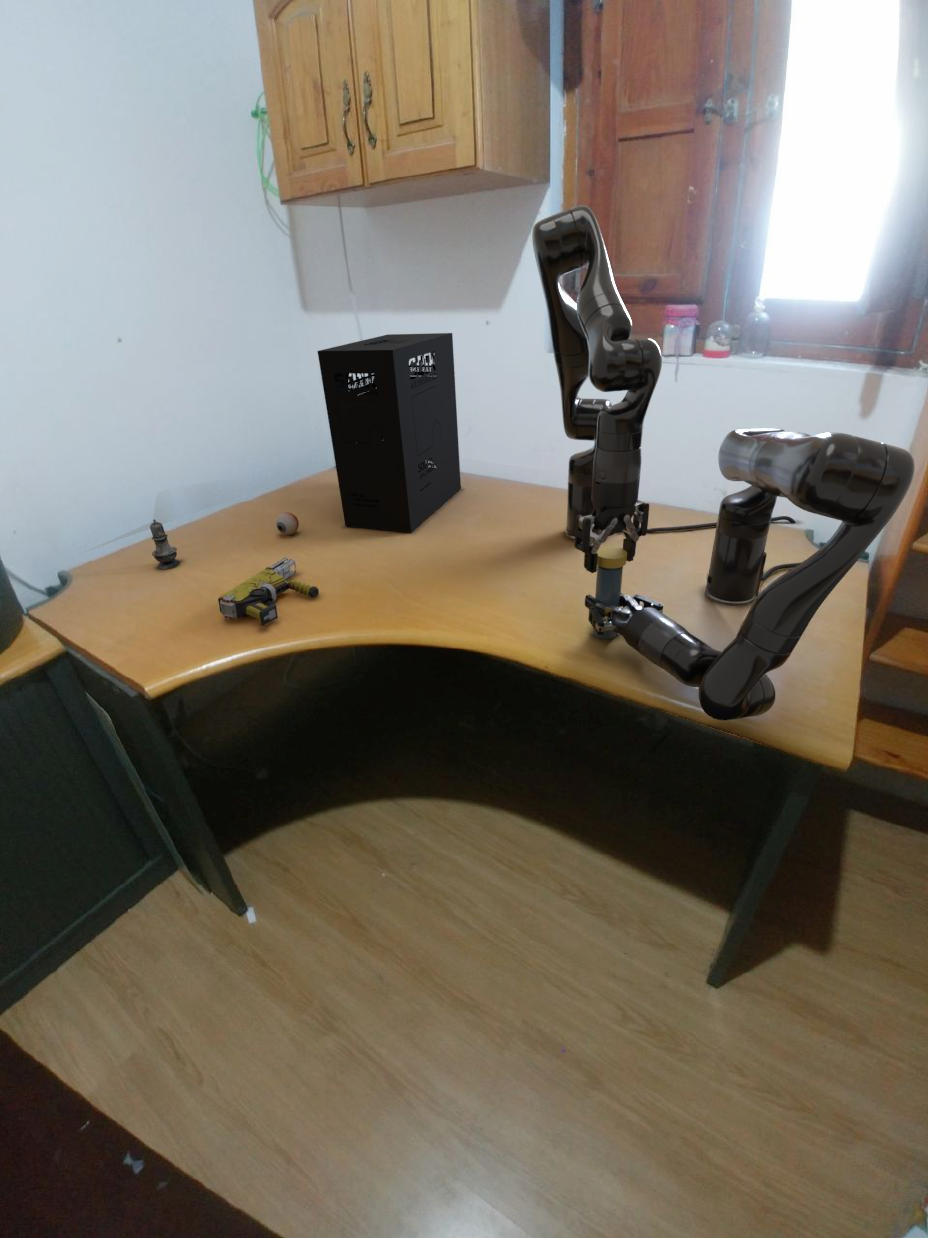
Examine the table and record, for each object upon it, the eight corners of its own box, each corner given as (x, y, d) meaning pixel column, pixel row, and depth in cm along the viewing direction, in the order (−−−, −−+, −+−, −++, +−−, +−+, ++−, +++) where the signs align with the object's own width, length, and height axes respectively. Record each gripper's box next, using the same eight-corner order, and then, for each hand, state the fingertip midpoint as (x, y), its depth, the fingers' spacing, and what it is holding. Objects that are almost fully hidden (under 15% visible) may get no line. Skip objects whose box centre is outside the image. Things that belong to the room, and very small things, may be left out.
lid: (599, 569, 103) (600, 560, 102) (591, 557, 108) (591, 547, 107) (630, 567, 104) (631, 557, 103) (620, 554, 108) (621, 545, 107)
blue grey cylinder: (595, 639, 111) (600, 563, 103) (590, 627, 115) (595, 552, 107) (619, 638, 111) (626, 562, 103) (614, 626, 115) (620, 551, 107)
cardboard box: (403, 484, 198) (387, 334, 176) (460, 488, 192) (452, 332, 169) (345, 526, 168) (317, 350, 145) (411, 532, 161) (392, 349, 139)
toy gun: (338, 566, 137) (282, 554, 141) (276, 612, 117) (212, 597, 121) (339, 585, 140) (283, 573, 144) (278, 633, 120) (216, 618, 124)
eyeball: (273, 537, 164) (268, 516, 161) (287, 528, 169) (282, 508, 166) (291, 539, 161) (286, 518, 158) (305, 530, 166) (301, 510, 163)
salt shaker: (171, 569, 148) (156, 523, 142) (150, 569, 149) (135, 523, 143) (185, 560, 153) (172, 515, 147) (165, 559, 154) (151, 514, 148)
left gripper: (634, 461, 104) (626, 549, 112) (566, 476, 98) (563, 567, 106) (666, 471, 98) (655, 563, 106) (596, 488, 92) (590, 583, 100)
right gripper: (696, 608, 99) (631, 569, 112) (624, 630, 94) (566, 586, 108) (690, 647, 103) (628, 604, 116) (621, 669, 98) (564, 622, 112)
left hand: (609, 565), depth 106 cm, fingers open, 7 cm apart
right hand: (598, 596), depth 112 cm, fingers closed on blue grey cylinder, 4 cm apart
